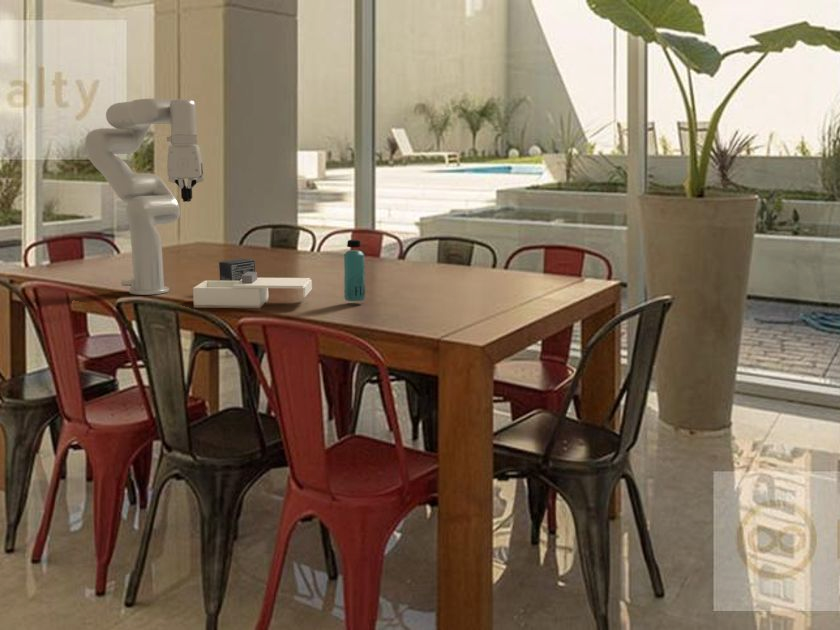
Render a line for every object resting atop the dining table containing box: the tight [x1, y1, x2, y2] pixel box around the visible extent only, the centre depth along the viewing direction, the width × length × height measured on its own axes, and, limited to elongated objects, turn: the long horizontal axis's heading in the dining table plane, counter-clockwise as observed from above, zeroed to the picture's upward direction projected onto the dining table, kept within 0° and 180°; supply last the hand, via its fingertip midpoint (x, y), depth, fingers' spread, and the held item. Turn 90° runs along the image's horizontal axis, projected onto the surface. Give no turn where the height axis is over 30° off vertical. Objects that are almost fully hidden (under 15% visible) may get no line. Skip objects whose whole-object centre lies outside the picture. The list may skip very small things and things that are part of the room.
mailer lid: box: [233, 271, 313, 298], centre depth 274 cm, size 22×15×6 cm
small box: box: [218, 258, 256, 281], centre depth 297 cm, size 11×6×10 cm, turn 141°
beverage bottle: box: [343, 239, 366, 302], centre depth 274 cm, size 6×7×20 cm
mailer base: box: [192, 280, 269, 309], centre depth 275 cm, size 20×14×6 cm
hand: (187, 201), depth 275 cm, fingers closed
